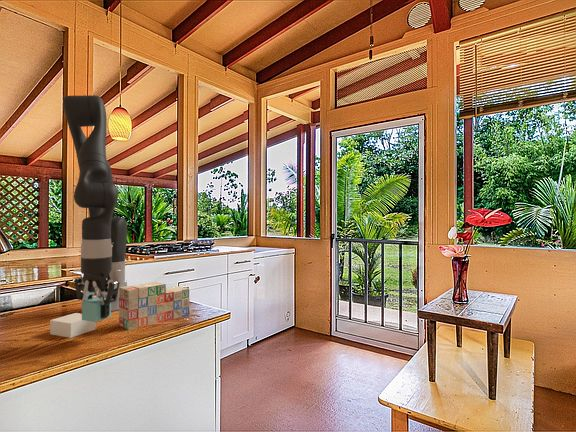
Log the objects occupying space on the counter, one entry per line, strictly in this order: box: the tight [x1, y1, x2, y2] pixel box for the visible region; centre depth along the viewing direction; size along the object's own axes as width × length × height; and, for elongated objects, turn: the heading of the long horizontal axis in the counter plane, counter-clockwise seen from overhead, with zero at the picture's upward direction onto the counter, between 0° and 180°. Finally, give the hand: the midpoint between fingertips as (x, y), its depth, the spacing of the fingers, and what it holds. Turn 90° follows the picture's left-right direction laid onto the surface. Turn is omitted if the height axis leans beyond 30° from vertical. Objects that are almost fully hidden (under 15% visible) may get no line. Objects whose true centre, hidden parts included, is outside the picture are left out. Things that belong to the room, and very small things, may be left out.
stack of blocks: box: [118, 281, 190, 331], centre depth 114 cm, size 21×6×12 cm, turn 140°
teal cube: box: [81, 296, 112, 323], centre depth 96 cm, size 5×5×5 cm
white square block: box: [49, 312, 96, 339], centre depth 102 cm, size 8×8×4 cm
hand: (96, 316), depth 96 cm, fingers closed on teal cube, 5 cm apart
